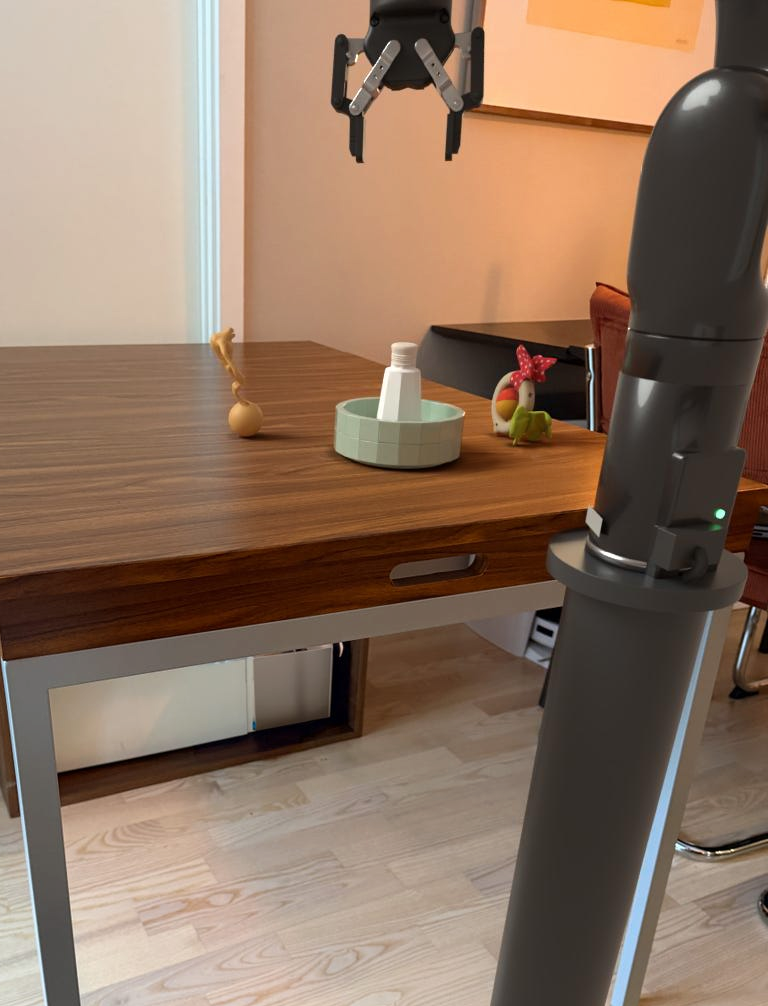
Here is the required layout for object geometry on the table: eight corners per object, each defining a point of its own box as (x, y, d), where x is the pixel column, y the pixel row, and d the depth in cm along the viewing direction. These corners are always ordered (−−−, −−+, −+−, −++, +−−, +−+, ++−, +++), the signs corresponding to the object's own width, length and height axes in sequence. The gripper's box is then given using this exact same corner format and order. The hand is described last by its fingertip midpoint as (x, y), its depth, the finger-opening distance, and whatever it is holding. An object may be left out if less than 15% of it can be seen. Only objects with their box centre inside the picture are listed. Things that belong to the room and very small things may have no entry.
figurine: (267, 444, 97) (268, 332, 92) (213, 445, 96) (212, 331, 91) (258, 428, 105) (259, 323, 99) (208, 428, 104) (207, 322, 98)
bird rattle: (475, 454, 104) (523, 439, 96) (464, 361, 103) (512, 338, 95) (517, 451, 106) (568, 436, 98) (507, 360, 106) (557, 337, 97)
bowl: (483, 466, 91) (489, 418, 89) (367, 476, 86) (371, 425, 84) (420, 437, 102) (424, 394, 100) (314, 444, 98) (316, 399, 95)
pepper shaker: (431, 451, 94) (442, 345, 89) (393, 457, 91) (402, 348, 86) (399, 441, 98) (407, 339, 93) (361, 446, 95) (368, 341, 90)
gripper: (328, -53, 76) (326, 158, 82) (495, -65, 73) (479, 153, 79) (339, -24, 82) (336, 168, 88) (492, -34, 80) (478, 164, 86)
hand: (404, 161), depth 84 cm, fingers open, 8 cm apart
